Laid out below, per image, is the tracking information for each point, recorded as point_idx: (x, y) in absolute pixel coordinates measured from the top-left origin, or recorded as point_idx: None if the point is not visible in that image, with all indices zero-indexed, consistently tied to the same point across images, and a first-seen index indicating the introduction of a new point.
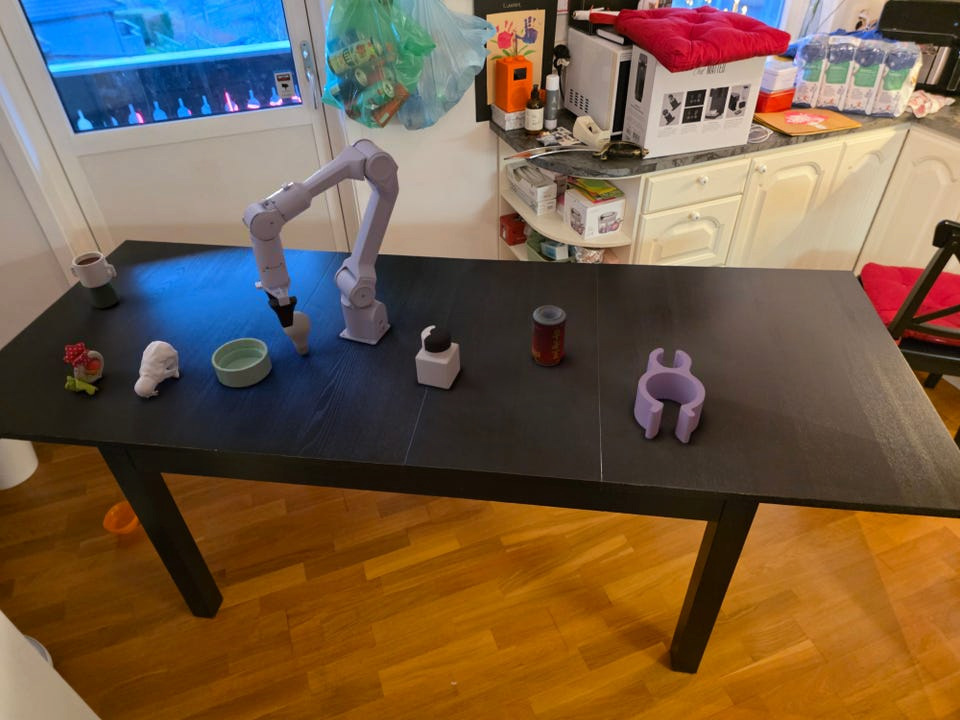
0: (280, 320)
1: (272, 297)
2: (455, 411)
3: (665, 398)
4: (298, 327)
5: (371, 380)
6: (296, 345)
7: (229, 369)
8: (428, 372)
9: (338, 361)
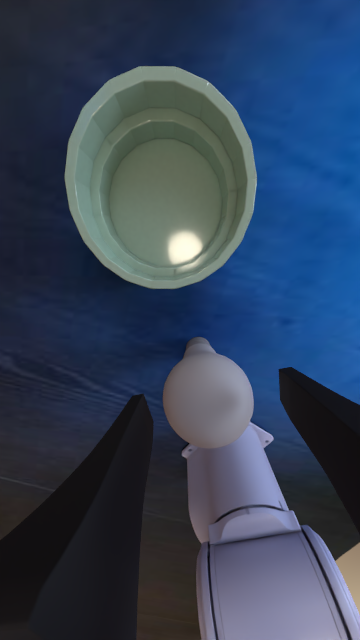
0: (109, 431)
1: (326, 426)
2: (10, 509)
3: None
4: (166, 415)
5: (88, 437)
6: (186, 352)
7: (75, 156)
8: None
9: (152, 399)
